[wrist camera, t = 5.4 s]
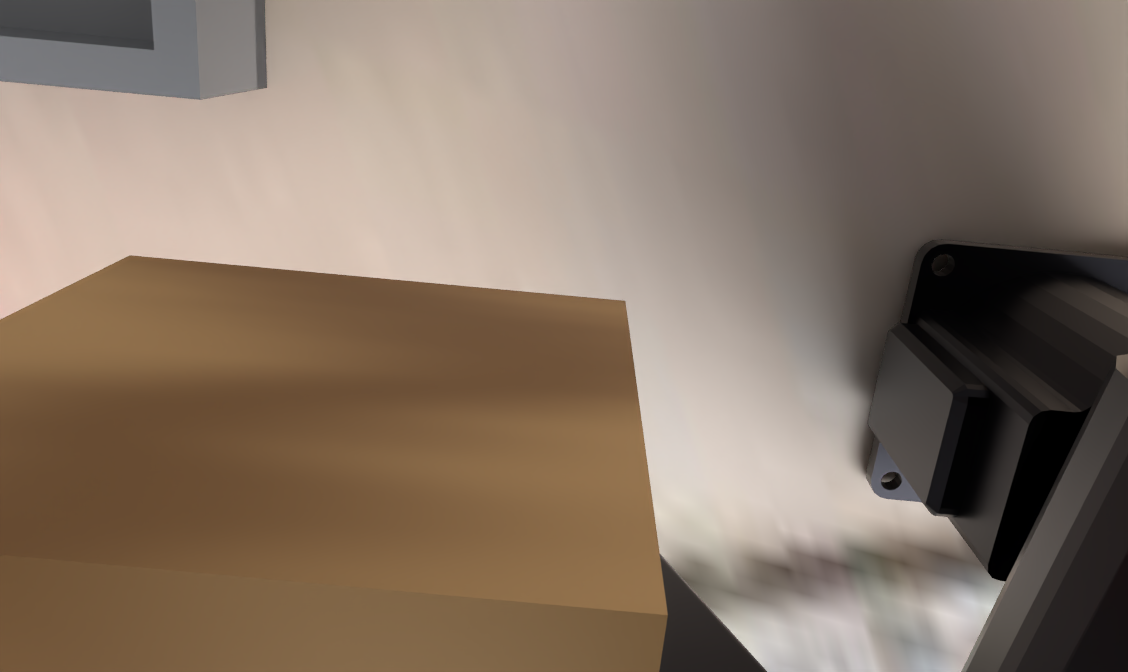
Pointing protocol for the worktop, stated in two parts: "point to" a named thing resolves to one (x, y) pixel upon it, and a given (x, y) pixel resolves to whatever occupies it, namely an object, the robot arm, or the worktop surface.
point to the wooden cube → (321, 478)
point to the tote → (136, 45)
